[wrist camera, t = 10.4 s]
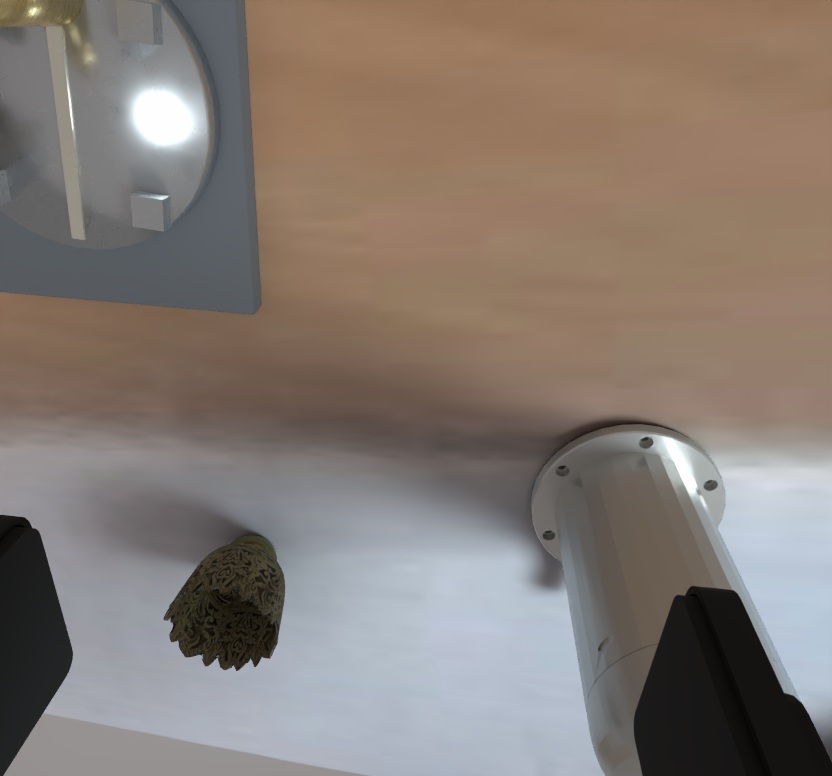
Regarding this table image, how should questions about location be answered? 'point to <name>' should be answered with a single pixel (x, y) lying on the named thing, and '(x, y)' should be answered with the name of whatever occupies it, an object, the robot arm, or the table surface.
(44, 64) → the disc with brass post
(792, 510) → the table surface
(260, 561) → the cup
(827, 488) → the table surface
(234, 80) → the base plate
